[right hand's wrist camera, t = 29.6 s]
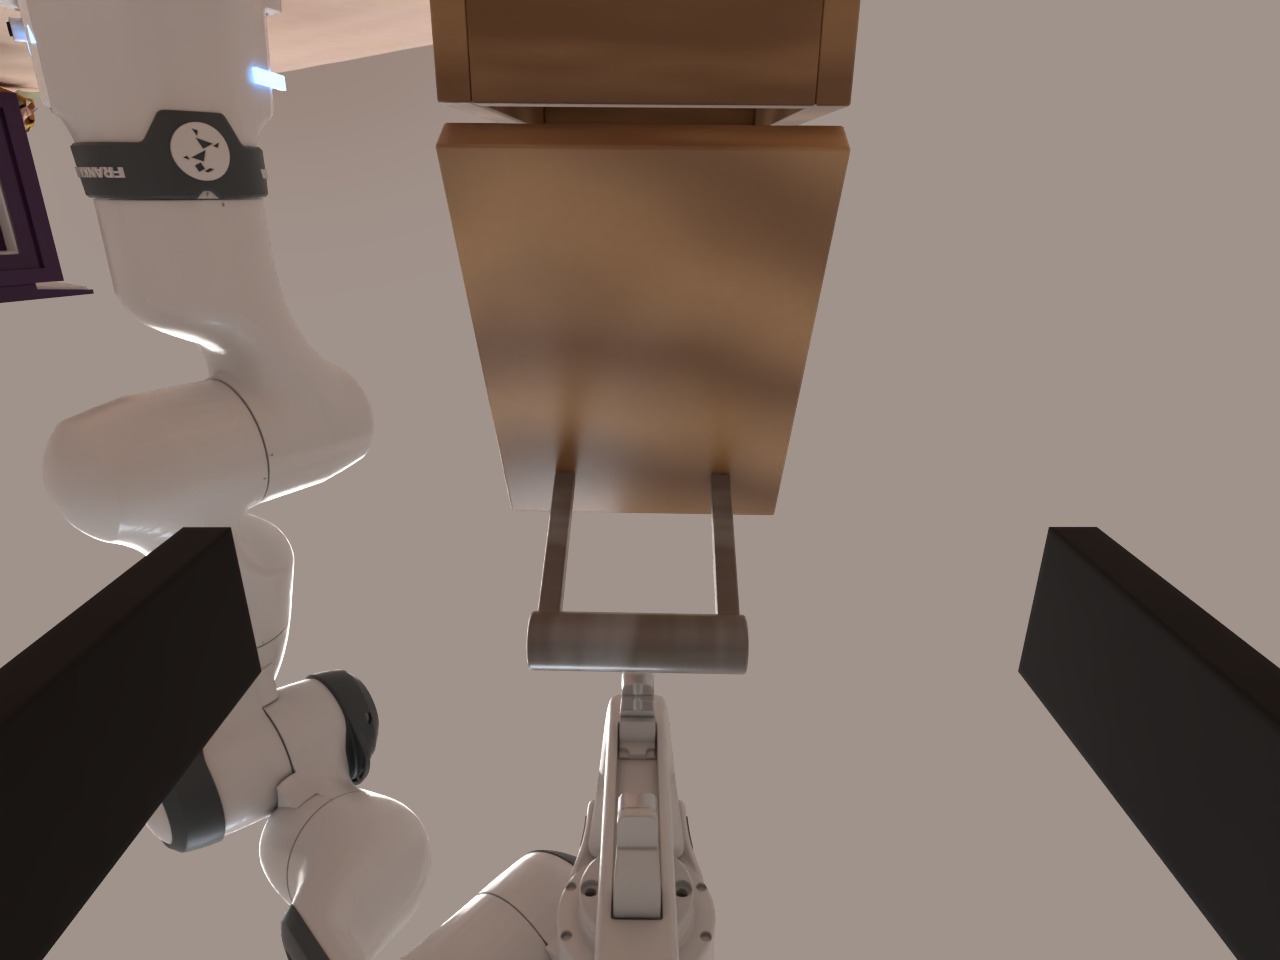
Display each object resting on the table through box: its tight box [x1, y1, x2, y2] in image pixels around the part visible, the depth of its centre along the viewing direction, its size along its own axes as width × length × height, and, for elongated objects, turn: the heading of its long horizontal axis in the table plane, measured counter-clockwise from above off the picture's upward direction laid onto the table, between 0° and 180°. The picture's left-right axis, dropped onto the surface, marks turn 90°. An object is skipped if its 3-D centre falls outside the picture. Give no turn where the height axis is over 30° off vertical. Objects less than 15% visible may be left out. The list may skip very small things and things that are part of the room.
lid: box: [436, 123, 850, 674], centre depth 23 cm, size 15×10×9 cm
